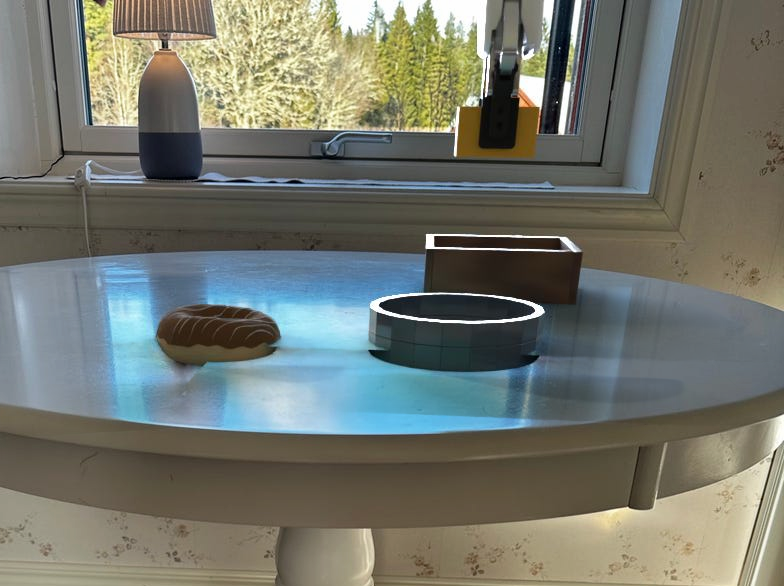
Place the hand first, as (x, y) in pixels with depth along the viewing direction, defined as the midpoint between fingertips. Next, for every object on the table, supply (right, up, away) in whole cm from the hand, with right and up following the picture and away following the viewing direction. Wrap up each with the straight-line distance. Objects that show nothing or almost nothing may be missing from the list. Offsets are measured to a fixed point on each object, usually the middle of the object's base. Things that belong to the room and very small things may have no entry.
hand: (494, 145), depth 87 cm
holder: (+3, -9, +18) cm, 20 cm away
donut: (-25, -21, -5) cm, 33 cm away
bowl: (-5, -21, -5) cm, 22 cm away
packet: (0, -1, 0) cm, 1 cm away
